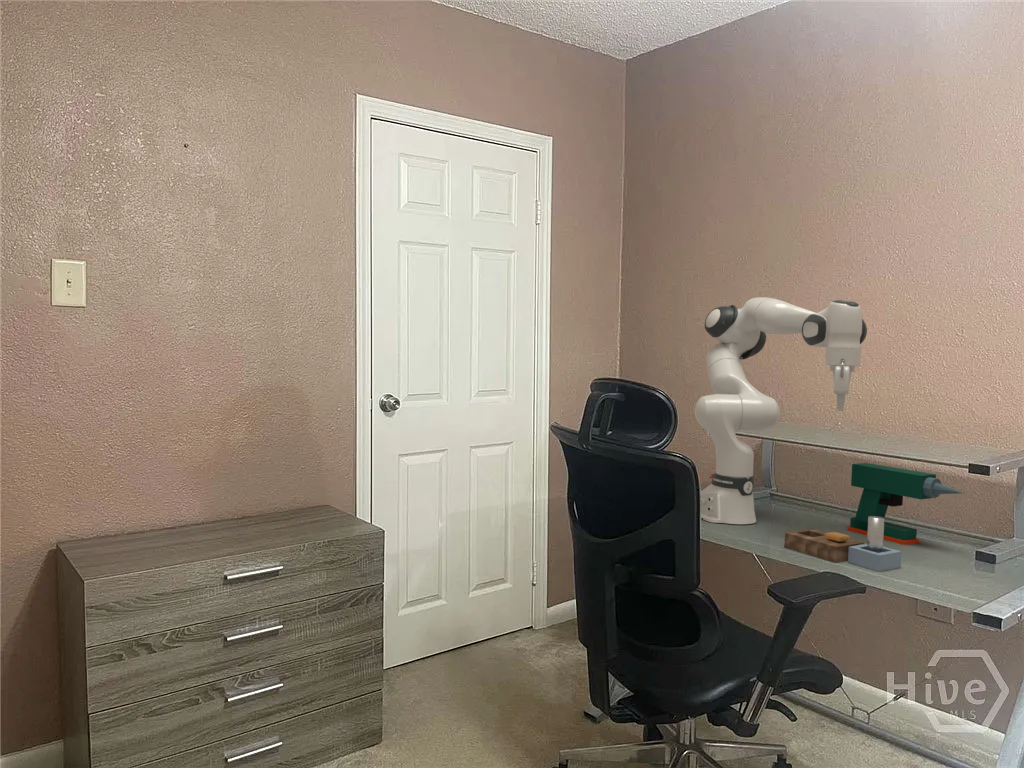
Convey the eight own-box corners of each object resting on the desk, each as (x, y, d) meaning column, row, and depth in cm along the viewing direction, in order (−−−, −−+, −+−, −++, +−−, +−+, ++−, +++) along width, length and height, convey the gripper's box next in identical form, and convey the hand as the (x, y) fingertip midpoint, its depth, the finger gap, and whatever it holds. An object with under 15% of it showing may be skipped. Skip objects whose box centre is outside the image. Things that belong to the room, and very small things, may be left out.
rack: (847, 562, 195) (848, 546, 194) (869, 558, 199) (870, 543, 199) (878, 571, 187) (879, 555, 187) (900, 567, 191) (901, 551, 191)
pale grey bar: (864, 564, 193) (866, 517, 192) (868, 562, 196) (870, 515, 195) (879, 567, 190) (882, 519, 190) (883, 564, 193) (886, 517, 193)
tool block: (784, 547, 208) (785, 532, 208) (811, 542, 213) (812, 528, 213) (835, 562, 194) (836, 546, 194) (863, 557, 199) (864, 542, 199)
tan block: (824, 552, 201) (825, 533, 201) (833, 551, 203) (834, 531, 203) (839, 557, 197) (840, 537, 197) (848, 555, 199) (849, 535, 199)
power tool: (968, 554, 206) (972, 480, 205) (953, 557, 202) (957, 481, 201) (862, 528, 233) (865, 462, 232) (847, 530, 230) (850, 463, 229)
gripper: (855, 360, 201) (853, 412, 202) (854, 359, 220) (852, 407, 221) (829, 359, 204) (827, 411, 205) (831, 358, 223) (828, 406, 223)
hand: (840, 409), depth 213 cm, fingers open, 8 cm apart
